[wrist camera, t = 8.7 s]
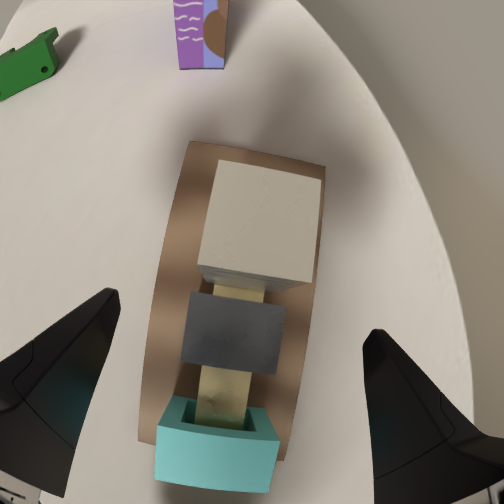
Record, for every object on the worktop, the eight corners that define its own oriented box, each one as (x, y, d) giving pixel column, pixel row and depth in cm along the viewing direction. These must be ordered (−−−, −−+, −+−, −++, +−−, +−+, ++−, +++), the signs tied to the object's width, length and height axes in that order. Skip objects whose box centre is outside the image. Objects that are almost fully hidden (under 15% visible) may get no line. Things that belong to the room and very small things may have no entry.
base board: (281, 455, 20) (283, 460, 19) (140, 436, 19) (137, 441, 18) (321, 171, 25) (325, 166, 24) (190, 146, 24) (189, 140, 23)
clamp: (63, 77, 29) (70, 24, 22) (52, 98, 27) (57, 39, 20) (-2, 82, 23) (-2, 32, 16) (-17, 104, 21) (-21, 49, 14)
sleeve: (261, 358, 21) (275, 375, 15) (189, 347, 20) (180, 361, 15) (270, 306, 21) (286, 306, 16) (197, 294, 21) (190, 290, 16)
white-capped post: (240, 443, 18) (260, 533, 8) (187, 435, 18) (167, 524, 7) (272, 240, 21) (321, 180, 11) (217, 230, 21) (218, 159, 10)
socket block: (255, 452, 19) (268, 492, 13) (168, 440, 18) (154, 479, 12) (264, 408, 20) (280, 441, 14) (172, 394, 19) (157, 425, 13)
